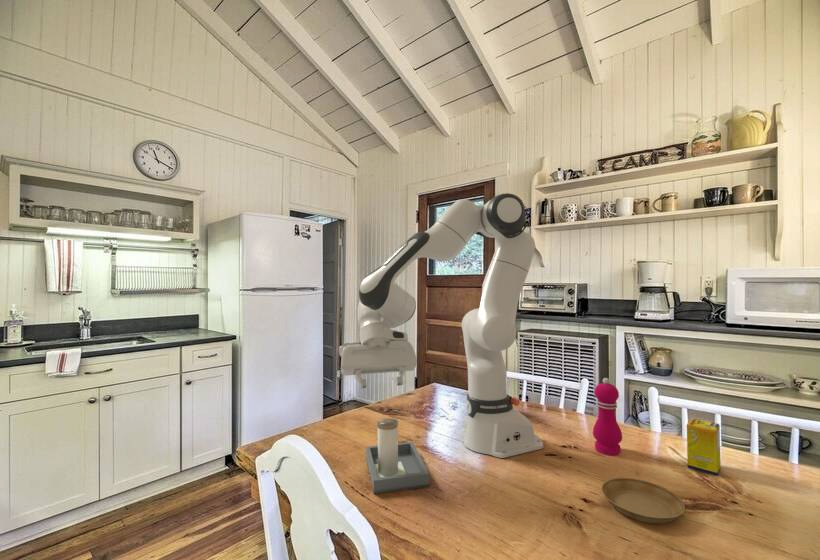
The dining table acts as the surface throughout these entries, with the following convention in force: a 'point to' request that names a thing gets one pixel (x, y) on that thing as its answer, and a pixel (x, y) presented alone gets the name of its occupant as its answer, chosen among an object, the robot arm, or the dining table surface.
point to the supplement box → (703, 446)
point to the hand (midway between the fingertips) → (382, 385)
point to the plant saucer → (643, 500)
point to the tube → (387, 447)
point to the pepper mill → (607, 420)
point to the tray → (409, 470)
